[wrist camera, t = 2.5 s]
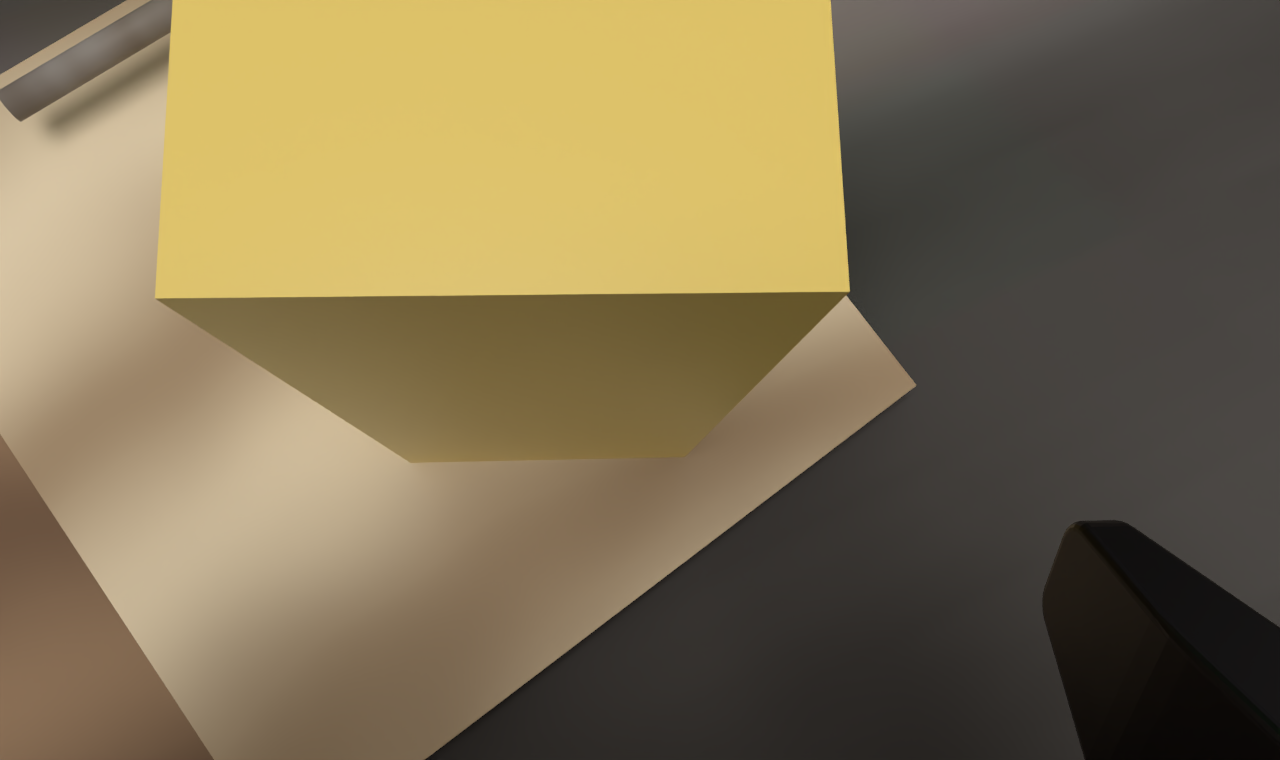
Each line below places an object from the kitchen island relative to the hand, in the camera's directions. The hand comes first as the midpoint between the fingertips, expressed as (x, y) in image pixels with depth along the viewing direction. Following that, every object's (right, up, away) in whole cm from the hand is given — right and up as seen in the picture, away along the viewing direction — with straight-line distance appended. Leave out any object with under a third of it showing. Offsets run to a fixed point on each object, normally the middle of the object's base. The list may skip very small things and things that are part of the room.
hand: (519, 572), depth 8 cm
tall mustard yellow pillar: (-1, +3, +11) cm, 11 cm away
